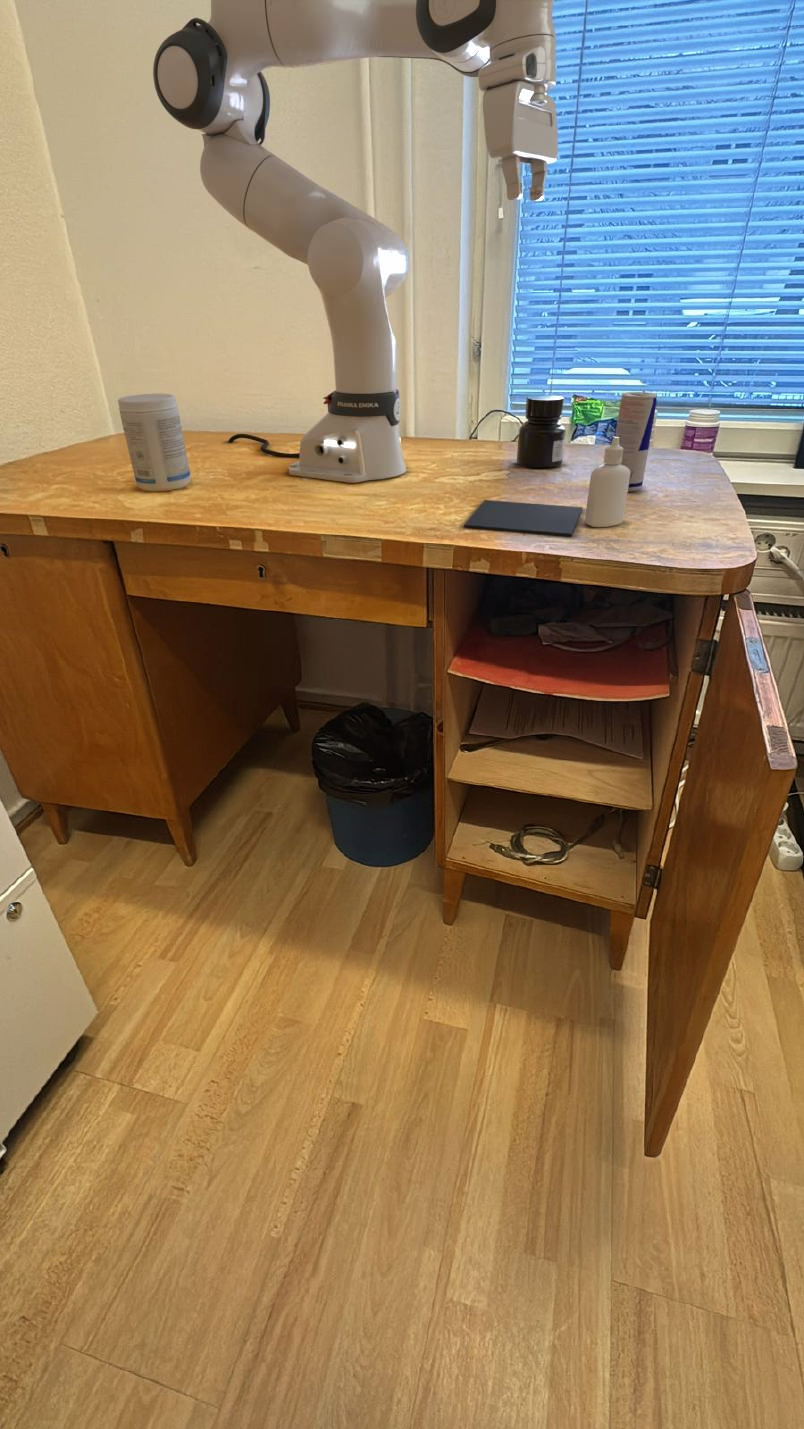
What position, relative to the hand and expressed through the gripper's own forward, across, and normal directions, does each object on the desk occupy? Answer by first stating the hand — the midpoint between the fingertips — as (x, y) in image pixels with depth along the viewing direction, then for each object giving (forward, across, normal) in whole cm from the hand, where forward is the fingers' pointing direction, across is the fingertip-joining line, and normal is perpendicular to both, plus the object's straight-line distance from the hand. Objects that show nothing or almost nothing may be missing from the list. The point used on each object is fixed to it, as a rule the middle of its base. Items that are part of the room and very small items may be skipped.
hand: (526, 200), depth 101 cm
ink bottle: (+41, -14, -4) cm, 44 cm away
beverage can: (+43, -2, +15) cm, 46 cm away
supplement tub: (+33, +31, -58) cm, 74 cm away
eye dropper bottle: (+42, +19, +17) cm, 49 cm away
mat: (+40, +22, +6) cm, 46 cm away
